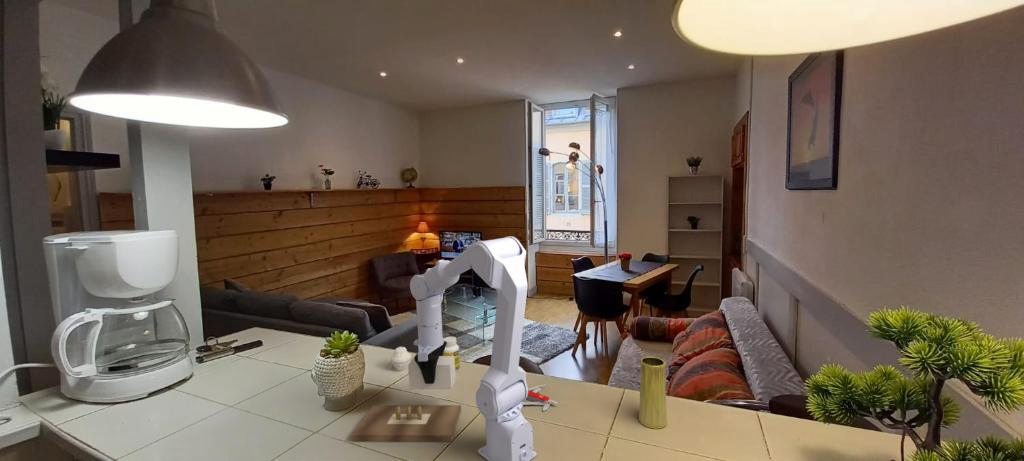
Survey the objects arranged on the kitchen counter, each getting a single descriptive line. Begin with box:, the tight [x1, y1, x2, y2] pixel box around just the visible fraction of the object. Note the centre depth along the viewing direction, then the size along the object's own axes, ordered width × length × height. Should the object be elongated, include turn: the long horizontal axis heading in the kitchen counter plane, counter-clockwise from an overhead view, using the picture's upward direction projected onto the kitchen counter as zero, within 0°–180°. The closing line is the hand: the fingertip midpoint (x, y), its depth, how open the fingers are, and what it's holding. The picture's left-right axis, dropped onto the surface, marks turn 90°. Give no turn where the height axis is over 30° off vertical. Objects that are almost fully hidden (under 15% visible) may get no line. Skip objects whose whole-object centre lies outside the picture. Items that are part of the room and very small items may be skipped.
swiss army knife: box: [523, 383, 558, 412], centre depth 100 cm, size 12×14×2 cm
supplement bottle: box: [443, 336, 461, 373], centre depth 119 cm, size 5×5×10 cm
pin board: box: [350, 404, 462, 443], centre depth 91 cm, size 22×12×4 cm, turn 87°
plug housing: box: [407, 356, 457, 390], centre depth 96 cm, size 10×5×6 cm, turn 86°
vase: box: [638, 356, 668, 430], centre depth 89 cm, size 6×6×14 cm
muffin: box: [390, 346, 412, 372], centre depth 121 cm, size 6×6×7 cm
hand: (432, 377), depth 96 cm, fingers closed on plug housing, 5 cm apart
